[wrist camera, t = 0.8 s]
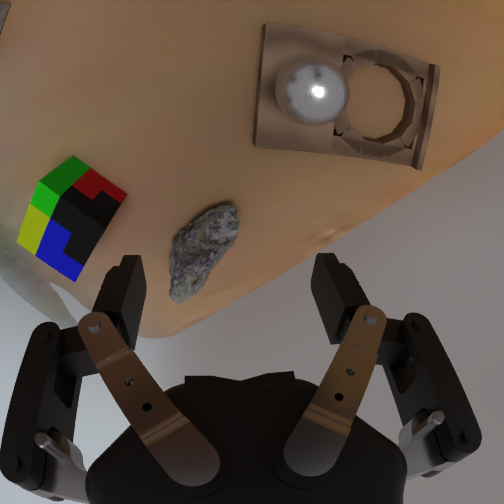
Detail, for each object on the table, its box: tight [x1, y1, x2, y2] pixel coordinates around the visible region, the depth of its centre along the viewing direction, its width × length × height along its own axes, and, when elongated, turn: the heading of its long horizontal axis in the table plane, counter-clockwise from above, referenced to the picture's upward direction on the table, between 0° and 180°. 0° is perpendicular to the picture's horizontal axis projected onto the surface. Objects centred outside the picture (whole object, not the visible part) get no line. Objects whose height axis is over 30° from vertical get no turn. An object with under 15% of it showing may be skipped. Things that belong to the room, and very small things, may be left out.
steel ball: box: [275, 56, 350, 126], centre depth 28 cm, size 8×8×8 cm
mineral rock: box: [169, 205, 240, 304], centre depth 41 cm, size 13×11×10 cm
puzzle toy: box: [17, 156, 127, 282], centre depth 34 cm, size 10×10×10 cm
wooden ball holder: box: [253, 22, 440, 170], centre depth 33 cm, size 16×24×4 cm, turn 86°
